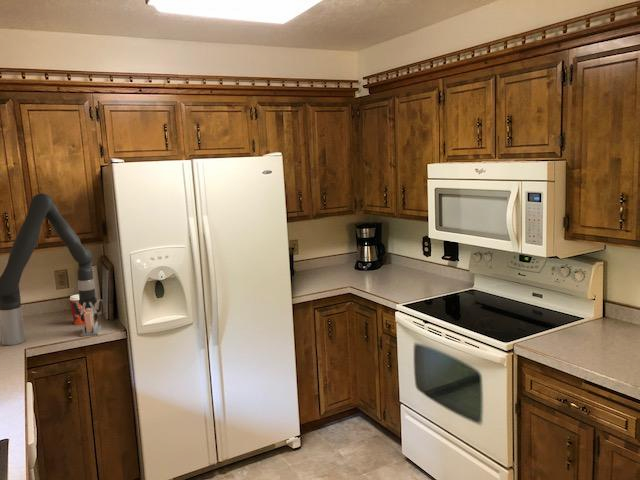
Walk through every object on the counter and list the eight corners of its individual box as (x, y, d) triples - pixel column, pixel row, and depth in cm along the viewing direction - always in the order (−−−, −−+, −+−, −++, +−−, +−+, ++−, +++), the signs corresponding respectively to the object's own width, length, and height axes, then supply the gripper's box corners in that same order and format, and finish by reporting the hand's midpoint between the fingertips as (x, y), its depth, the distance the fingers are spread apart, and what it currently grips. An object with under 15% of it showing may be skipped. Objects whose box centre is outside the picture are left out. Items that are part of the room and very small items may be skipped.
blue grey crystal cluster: (80, 336, 263) (79, 330, 262) (84, 328, 275) (83, 322, 274) (97, 335, 265) (96, 328, 264) (101, 327, 277) (100, 320, 276)
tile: (91, 332, 266) (89, 313, 264) (86, 333, 265) (84, 313, 263) (94, 327, 274) (92, 308, 273) (89, 327, 274) (87, 308, 272)
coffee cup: (77, 326, 280) (74, 298, 278) (69, 323, 285) (66, 296, 283) (91, 322, 287) (89, 295, 284) (83, 319, 292) (81, 293, 289)
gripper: (69, 291, 261) (73, 324, 263) (100, 288, 264) (104, 321, 267) (72, 287, 268) (75, 320, 271) (102, 285, 272) (105, 317, 274)
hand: (89, 320), depth 269 cm, fingers open, 5 cm apart
